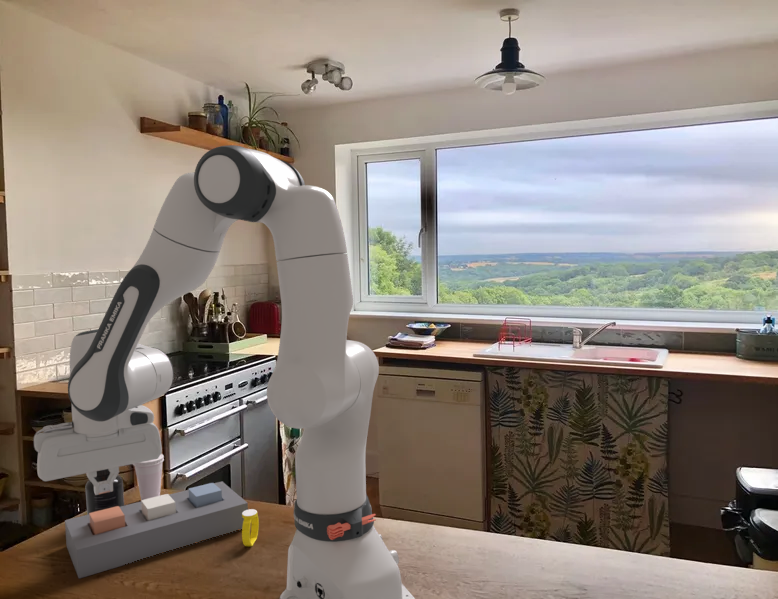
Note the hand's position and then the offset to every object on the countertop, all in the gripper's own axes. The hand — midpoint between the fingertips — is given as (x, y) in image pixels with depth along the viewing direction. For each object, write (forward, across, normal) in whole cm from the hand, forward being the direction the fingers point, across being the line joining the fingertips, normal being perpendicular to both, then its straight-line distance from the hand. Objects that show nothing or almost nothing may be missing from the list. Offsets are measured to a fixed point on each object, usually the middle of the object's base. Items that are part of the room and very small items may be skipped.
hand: (103, 492), depth 109 cm
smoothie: (+11, +12, +18) cm, 25 cm away
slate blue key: (+8, +18, 0) cm, 20 cm away
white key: (+8, +9, 0) cm, 13 cm away
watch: (+11, +22, -14) cm, 28 cm away
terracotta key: (+8, 0, 0) cm, 8 cm away
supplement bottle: (+11, +2, +12) cm, 17 cm away
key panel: (+11, +9, 0) cm, 14 cm away
